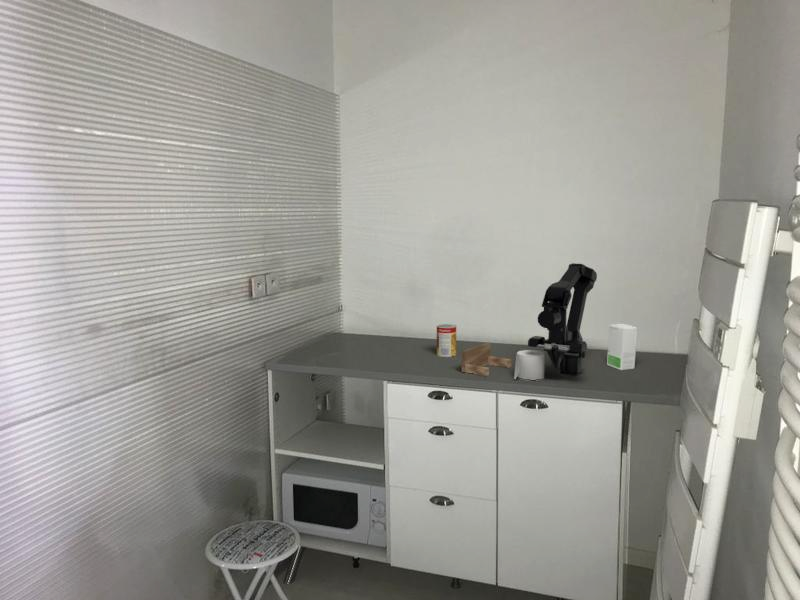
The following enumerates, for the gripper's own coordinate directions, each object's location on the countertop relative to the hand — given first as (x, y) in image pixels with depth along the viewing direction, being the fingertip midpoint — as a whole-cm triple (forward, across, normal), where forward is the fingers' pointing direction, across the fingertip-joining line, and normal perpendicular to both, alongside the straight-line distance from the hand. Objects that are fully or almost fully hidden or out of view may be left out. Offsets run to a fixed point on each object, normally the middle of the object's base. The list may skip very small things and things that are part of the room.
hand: (556, 368), depth 219 cm
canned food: (+5, +52, -15) cm, 55 cm away
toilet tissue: (+5, +10, 0) cm, 11 cm away
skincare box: (+5, -12, -32) cm, 35 cm away
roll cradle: (+4, +27, -2) cm, 28 cm away
